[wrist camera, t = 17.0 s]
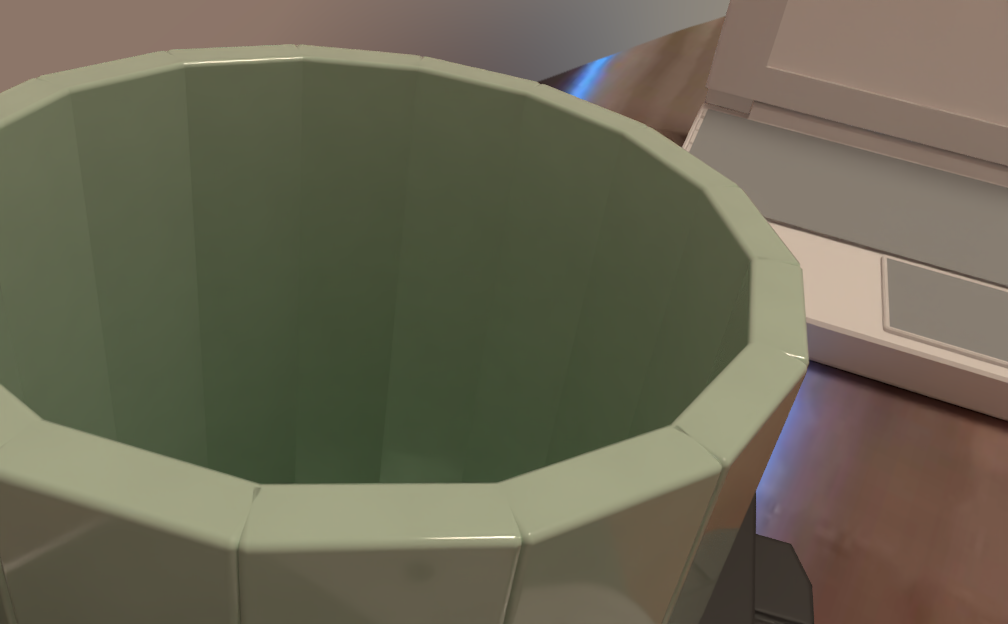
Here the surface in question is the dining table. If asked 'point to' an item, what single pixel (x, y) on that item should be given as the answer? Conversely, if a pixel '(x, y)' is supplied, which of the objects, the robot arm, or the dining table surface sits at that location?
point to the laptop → (878, 178)
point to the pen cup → (372, 348)
